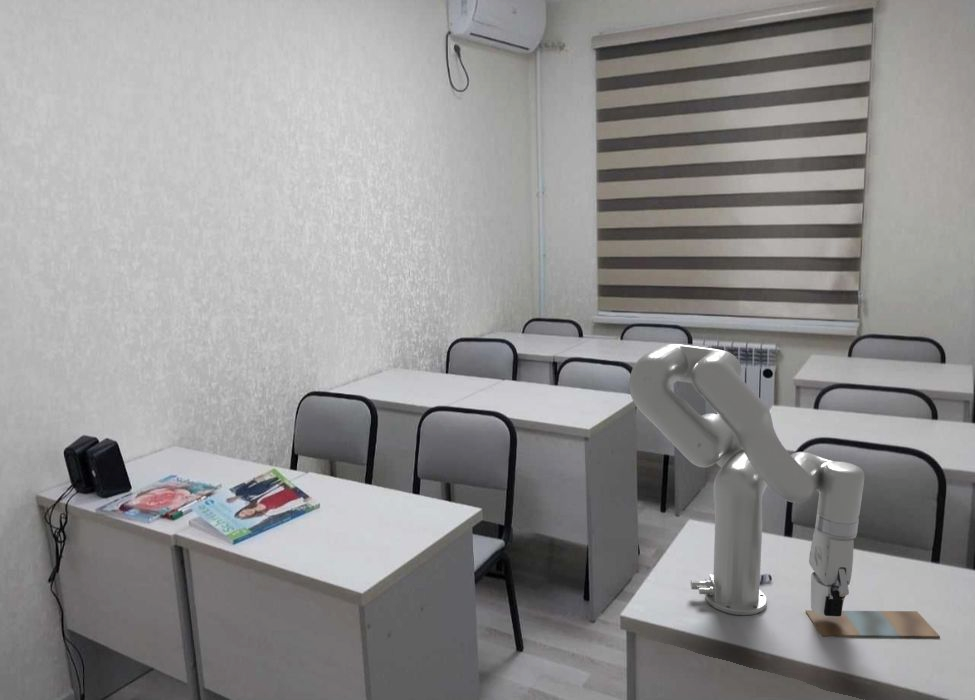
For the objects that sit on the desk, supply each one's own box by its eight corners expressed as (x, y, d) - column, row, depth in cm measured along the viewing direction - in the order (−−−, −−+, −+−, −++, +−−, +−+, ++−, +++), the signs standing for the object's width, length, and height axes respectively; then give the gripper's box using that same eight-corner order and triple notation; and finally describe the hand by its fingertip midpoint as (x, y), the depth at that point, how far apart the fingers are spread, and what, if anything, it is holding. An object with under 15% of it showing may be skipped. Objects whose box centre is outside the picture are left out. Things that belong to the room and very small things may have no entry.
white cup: (802, 600, 156) (805, 569, 154) (835, 600, 156) (839, 570, 154) (815, 618, 149) (819, 587, 148) (850, 619, 149) (854, 587, 148)
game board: (821, 636, 148) (821, 634, 148) (805, 612, 157) (805, 610, 157) (939, 637, 147) (939, 636, 147) (916, 613, 156) (917, 611, 155)
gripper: (802, 505, 157) (793, 583, 161) (833, 544, 140) (822, 629, 144) (838, 506, 157) (828, 584, 161) (875, 545, 140) (862, 632, 144)
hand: (826, 605), depth 152 cm, fingers closed on white cup, 5 cm apart
